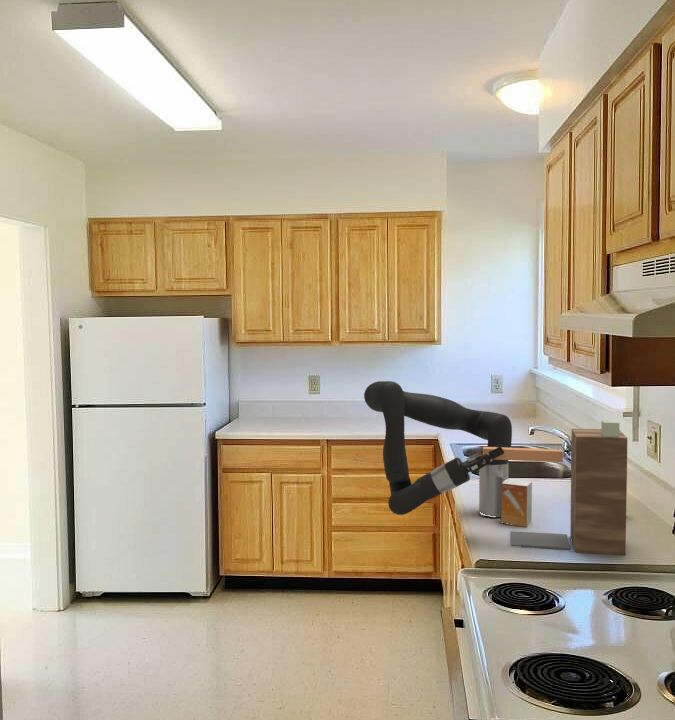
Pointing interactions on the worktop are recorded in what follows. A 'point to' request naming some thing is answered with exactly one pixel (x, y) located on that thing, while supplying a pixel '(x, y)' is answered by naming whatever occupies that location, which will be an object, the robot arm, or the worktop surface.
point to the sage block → (610, 428)
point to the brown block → (528, 454)
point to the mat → (540, 540)
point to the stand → (598, 492)
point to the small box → (516, 502)
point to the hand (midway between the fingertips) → (502, 448)
